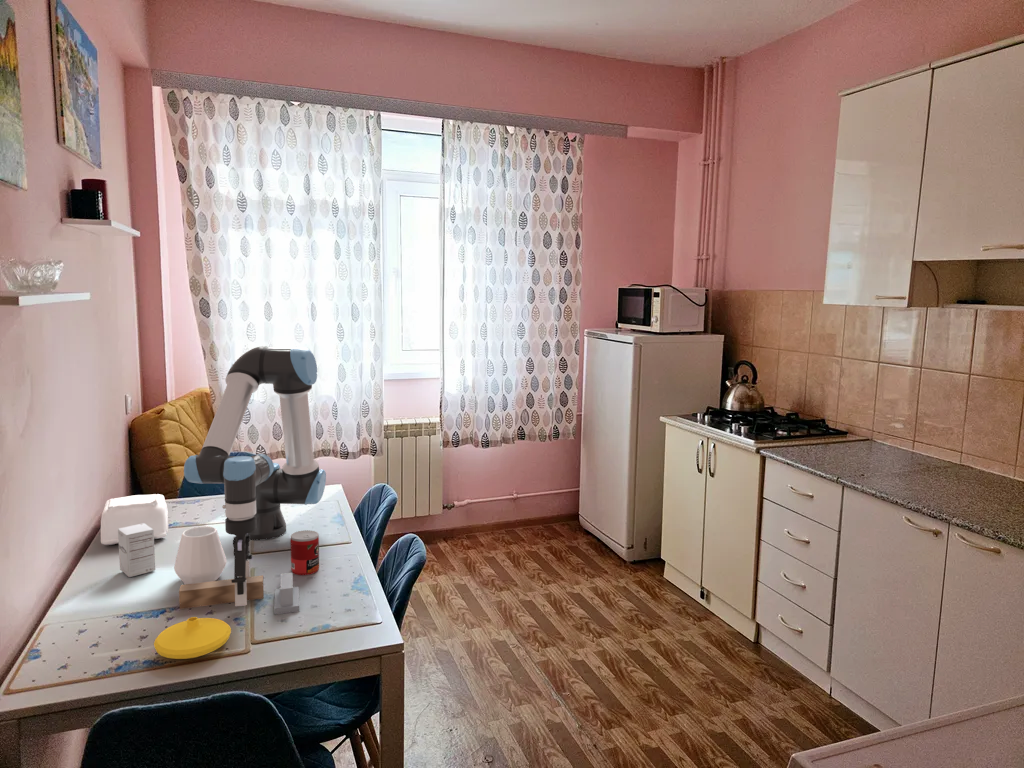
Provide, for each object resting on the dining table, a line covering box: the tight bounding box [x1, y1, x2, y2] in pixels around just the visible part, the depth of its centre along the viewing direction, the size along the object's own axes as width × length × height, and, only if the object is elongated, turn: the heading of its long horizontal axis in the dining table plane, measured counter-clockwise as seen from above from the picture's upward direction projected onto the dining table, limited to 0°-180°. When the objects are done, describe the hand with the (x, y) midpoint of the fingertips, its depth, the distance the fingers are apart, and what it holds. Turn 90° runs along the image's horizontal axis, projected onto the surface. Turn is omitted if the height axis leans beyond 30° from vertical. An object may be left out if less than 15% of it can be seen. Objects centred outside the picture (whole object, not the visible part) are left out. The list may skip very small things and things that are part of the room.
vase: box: [153, 616, 232, 660], centre depth 149 cm, size 16×16×7 cm
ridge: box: [273, 572, 300, 615], centre depth 173 cm, size 12×6×6 cm, turn 18°
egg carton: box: [100, 493, 169, 546], centre depth 223 cm, size 19×30×13 cm, turn 27°
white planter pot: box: [173, 525, 228, 585], centre depth 186 cm, size 13×13×14 cm
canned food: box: [290, 530, 320, 576], centre depth 193 cm, size 8×8×11 cm
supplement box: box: [118, 523, 156, 578], centre depth 190 cm, size 7×7×13 cm
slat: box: [178, 575, 265, 610], centre depth 173 cm, size 20×4×5 cm, turn 110°
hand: (242, 594), depth 175 cm, fingers open, 13 cm apart
